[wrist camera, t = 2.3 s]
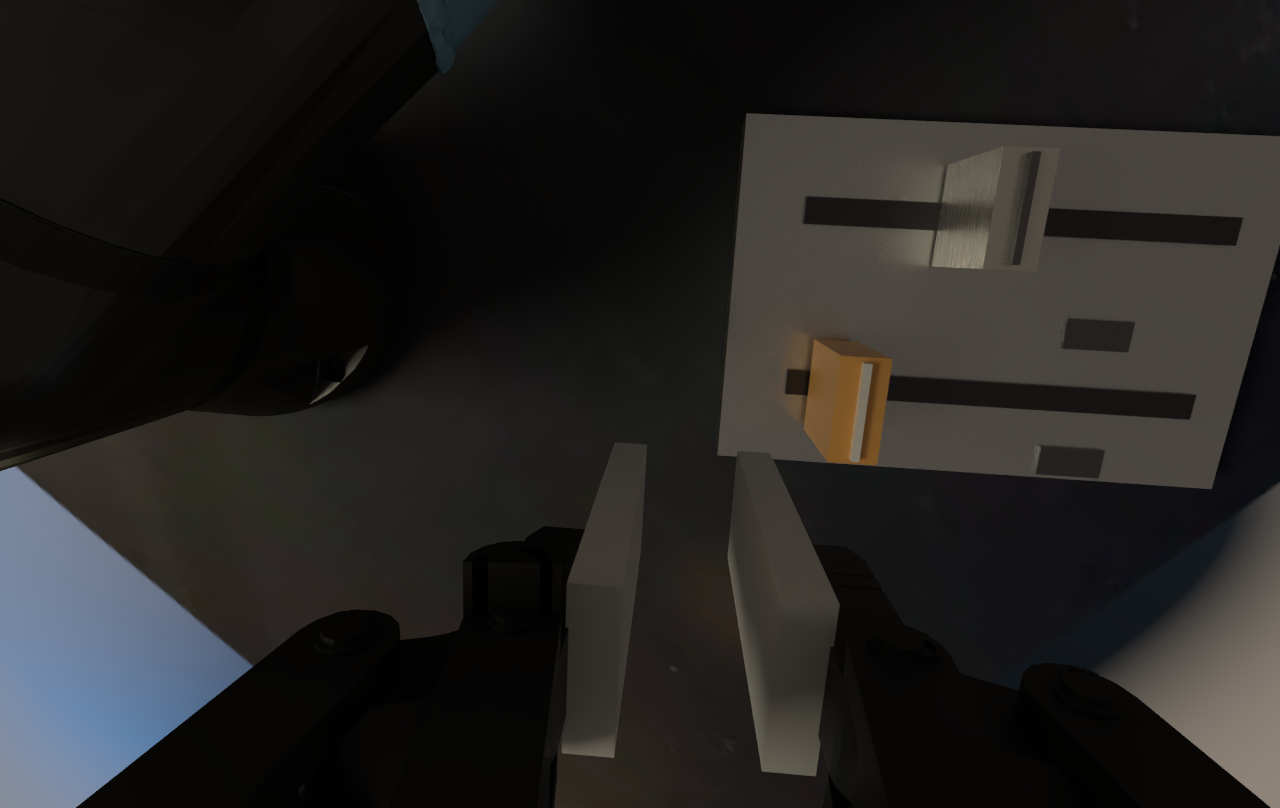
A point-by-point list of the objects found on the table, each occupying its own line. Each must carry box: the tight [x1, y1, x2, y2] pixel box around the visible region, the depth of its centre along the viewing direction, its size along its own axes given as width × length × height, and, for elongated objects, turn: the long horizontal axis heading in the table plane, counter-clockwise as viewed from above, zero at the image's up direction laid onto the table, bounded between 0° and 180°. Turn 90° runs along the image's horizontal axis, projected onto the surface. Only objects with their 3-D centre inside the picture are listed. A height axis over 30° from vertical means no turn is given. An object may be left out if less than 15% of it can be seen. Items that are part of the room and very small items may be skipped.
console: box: [715, 113, 1280, 489], centre depth 28 cm, size 24×16×8 cm, turn 87°
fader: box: [804, 339, 893, 465], centre depth 27 cm, size 2×4×5 cm, turn 177°
